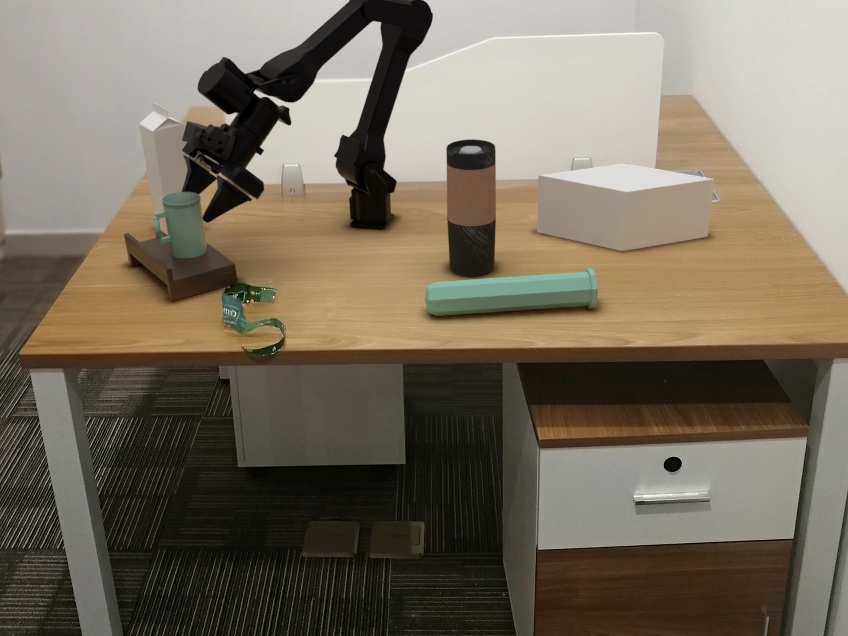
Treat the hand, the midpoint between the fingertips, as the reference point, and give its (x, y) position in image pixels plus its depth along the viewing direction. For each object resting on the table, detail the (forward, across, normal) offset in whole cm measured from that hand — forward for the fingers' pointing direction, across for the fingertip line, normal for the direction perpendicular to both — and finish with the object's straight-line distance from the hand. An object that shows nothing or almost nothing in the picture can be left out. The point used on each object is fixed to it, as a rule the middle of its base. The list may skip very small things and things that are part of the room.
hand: (192, 212), depth 161 cm
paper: (-38, +32, +52) cm, 72 cm away
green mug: (+5, 0, +3) cm, 6 cm away
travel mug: (-18, +27, +32) cm, 45 cm away
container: (-15, +42, +28) cm, 53 cm away
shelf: (+9, 0, +5) cm, 10 cm away
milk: (+4, -19, +10) cm, 22 cm away
